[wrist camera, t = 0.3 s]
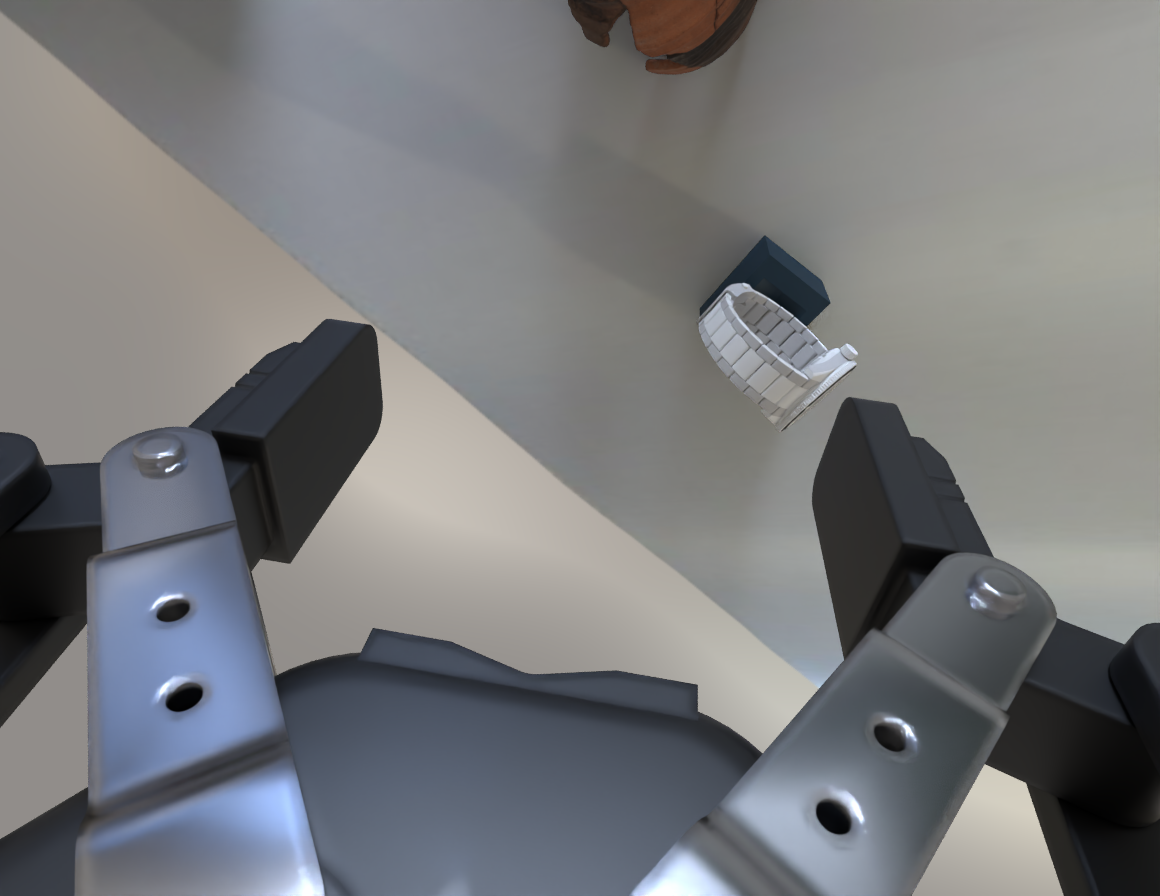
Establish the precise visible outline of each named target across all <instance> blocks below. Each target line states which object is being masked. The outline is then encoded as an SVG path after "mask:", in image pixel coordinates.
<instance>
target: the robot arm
mask: <svg viewBox="0 0 1160 896" xmlns="http://www.w3.org/2000/svg"><path fill="white" fill-rule="evenodd" d="M382 410H383V401H382V390H381V379H380V367H379V356H378V344H377V336H376V332H375V330H374V328H373V327H372V326H371V325H368V324H361V323H354V322H347V321H340V320H334V319H326V320H324V321H323V322H322V323H321V324H320V325H319V326H318V327H317V328H316V329H315V330H314V331H313V332H311V333H310V334H309V335H308V336H307V337H306V338H305V339H304V340H303V342H301V343H297V342H293V343H291V344H288V345H286V346H284V347H282V348H280V349H277V350H275V351H273V352H271V353H269V354H267V355H266V356H265V357H263V358H262V359H261V360H260V361H259V362H258V363H257V364H256V365H255V366H254V367H253V368H251V369H250V373H249V374H245V375H244V376H243V377H242V378H241V379H240V380H238V381H237V382H236V384H235V387H231V388H230V389H229V390H228V391H227V392H226V393H224V394H223V395H222V396H221V397H220V398H219V399H218V400H217V401H216V402H215V403H213V404H212V405H211V406H210V407H209V408H208V409H207V410H206V411H205V412H204V413H203V414H202V415H200V416H199V417H198V418H197V419H196V420H195V421H194V422H193V423H192V424H191V425H190V426H189V427H165V428H158V429H154V430H149V431H145V432H142V433H139V434H136V435H134V436H132V437H129V438H127V439H125V440H123V441H121V442H120V443H118V444H117V445H115V446H114V447H113V448H112V449H111V450H109V451H108V452H107V453H106V455H105V456H104V457H103V459H102V461H101V463H82V464H61V465H45V464H44V462H43V460H42V458H41V456H40V453H39V451H38V449H37V446H36V444H35V443H34V442H33V441H32V440H31V439H29V438H28V437H26V436H23V435H20V434H15V433H5V432H0V727H1V726H2V725H3V724H4V723H5V721H6V720H7V719H8V718H9V717H10V716H11V714H12V713H13V712H14V711H15V709H16V708H17V707H18V706H19V705H20V703H21V702H22V701H23V700H24V699H25V697H26V696H27V695H28V694H29V693H30V691H31V690H32V689H33V688H34V687H35V685H36V684H37V683H38V682H39V681H40V679H41V678H42V677H43V676H44V675H45V673H46V672H47V671H48V669H50V667H51V666H52V665H53V664H54V663H55V661H56V660H57V659H58V658H59V656H60V655H61V654H62V653H63V652H64V650H65V649H66V648H67V647H68V646H69V645H70V643H71V642H72V641H73V640H74V638H75V637H76V636H77V635H78V634H79V633H80V631H81V630H82V629H83V628H84V626H85V625H86V624H87V665H88V666H87V668H88V669H87V672H88V673H87V674H88V675H87V679H88V787H87V788H85V789H84V790H82V791H80V792H79V793H77V794H75V795H74V796H72V797H70V798H69V799H67V800H65V801H64V802H62V803H60V804H59V805H57V806H55V807H54V808H52V809H50V810H48V811H47V812H45V813H43V814H42V815H40V816H38V817H37V818H35V819H33V820H32V821H30V822H28V823H27V824H25V825H23V826H22V827H20V828H18V829H17V830H15V831H13V832H12V833H10V834H8V835H7V836H5V837H3V838H1V839H0V896H912V894H913V892H914V890H915V888H916V887H917V885H918V883H919V881H920V879H921V878H922V876H923V874H924V872H925V870H926V868H927V867H928V865H929V863H930V861H931V860H932V858H933V856H934V854H935V852H936V851H937V849H938V847H939V845H940V843H941V842H942V839H943V838H944V836H945V834H946V832H947V831H948V829H949V827H950V825H951V824H952V822H953V820H954V818H955V816H956V814H957V813H958V811H959V809H960V807H961V805H962V804H963V802H964V800H965V798H966V796H967V795H968V793H969V791H970V789H971V787H972V785H973V784H974V782H975V780H976V778H977V777H978V775H979V773H980V771H981V769H982V768H983V766H984V764H986V765H988V766H990V767H993V768H995V769H997V770H999V771H1001V772H1004V773H1006V774H1008V775H1010V776H1012V777H1014V778H1017V779H1019V780H1021V781H1023V782H1026V784H1027V787H1028V790H1029V793H1030V796H1031V799H1032V802H1033V805H1034V808H1035V811H1036V814H1037V817H1038V820H1039V823H1040V826H1041V829H1042V832H1043V834H1044V838H1045V841H1046V844H1047V846H1048V850H1049V853H1050V856H1051V859H1052V861H1053V865H1054V868H1055V870H1056V874H1057V877H1058V880H1059V883H1060V886H1061V888H1062V891H1063V894H1064V896H1160V623H1151V624H1146V625H1144V626H1142V627H1140V628H1139V629H1138V630H1137V631H1136V632H1135V633H1134V634H1133V635H1132V636H1131V638H1130V639H1129V640H1128V641H1127V642H1126V644H1125V645H1124V644H1122V643H1119V642H1117V641H1114V640H1111V639H1109V638H1106V637H1103V636H1101V635H1098V634H1096V633H1093V632H1090V631H1088V630H1085V629H1082V628H1080V627H1077V626H1075V625H1072V624H1069V623H1067V622H1065V621H1062V620H1060V619H1058V618H1057V613H1056V609H1055V606H1054V604H1053V602H1052V600H1051V598H1050V597H1049V596H1048V594H1047V593H1046V591H1045V590H1044V589H1043V588H1042V587H1041V586H1040V585H1039V584H1038V583H1037V582H1036V581H1034V580H1033V579H1032V578H1031V577H1029V576H1028V575H1027V574H1025V573H1024V572H1022V571H1021V570H1019V569H1017V568H1016V567H1014V566H1012V565H1010V564H1008V563H1006V562H1004V561H1001V560H999V559H996V558H994V557H993V554H992V552H991V550H990V548H989V546H988V544H987V542H986V540H985V538H984V536H983V534H982V532H981V530H980V528H979V526H978V524H977V522H976V520H975V518H974V516H973V514H972V512H971V510H970V508H969V506H968V504H967V503H965V502H964V499H965V498H964V495H963V493H962V491H961V489H960V487H959V485H956V484H955V483H956V479H955V477H954V475H953V473H952V471H951V469H950V467H949V465H948V463H947V461H946V459H945V458H944V457H943V456H942V455H941V454H940V453H939V452H938V451H937V450H935V449H934V448H933V447H932V446H931V445H930V444H929V443H928V442H927V441H926V440H925V439H924V438H919V437H912V436H910V433H909V431H908V429H907V427H906V424H905V422H904V420H903V418H902V415H901V413H900V411H899V409H898V407H897V405H895V404H893V403H886V402H879V401H872V400H866V399H859V398H852V397H848V398H846V399H845V400H844V402H843V403H842V405H841V407H840V409H839V412H838V415H837V417H836V420H835V423H834V426H833V428H832V431H831V434H830V436H829V439H828V442H827V445H826V447H825V450H824V453H823V455H822V458H821V461H820V464H819V466H818V469H817V472H816V475H815V479H814V485H813V492H812V506H813V511H814V516H815V521H816V526H817V531H818V536H819V540H820V545H821V550H822V555H823V560H824V565H825V569H826V574H827V579H828V584H829V589H830V593H831V598H832V603H833V608H834V613H835V618H836V622H837V627H838V632H839V637H840V642H841V647H842V651H843V656H844V661H843V662H842V663H841V664H840V665H839V667H838V668H837V669H836V670H835V671H834V672H833V673H832V675H831V676H830V677H829V678H828V679H827V680H826V681H825V683H824V684H823V685H822V686H821V687H820V688H819V690H818V691H817V692H816V693H815V694H814V695H813V697H812V698H811V699H810V700H809V701H808V702H807V703H806V705H805V706H804V707H803V708H802V709H801V710H800V712H799V713H798V714H797V715H796V716H795V717H794V718H793V720H792V721H791V722H790V723H789V724H788V725H787V726H786V728H785V729H784V730H783V731H782V732H781V733H780V735H779V736H778V737H777V738H776V739H775V740H774V741H773V742H772V744H771V745H770V746H769V747H768V748H767V749H766V751H765V752H764V753H761V752H760V751H759V750H758V749H757V748H756V747H754V746H753V745H752V744H751V743H750V742H749V741H747V740H746V739H745V738H743V737H742V736H740V735H739V734H738V733H736V732H735V731H733V730H732V729H730V728H729V727H727V726H726V725H724V724H722V723H720V722H718V721H717V720H715V719H713V718H711V717H709V716H707V715H704V714H702V713H700V712H698V701H697V700H698V685H696V684H690V683H684V682H679V681H673V680H667V679H662V678H656V677H650V676H644V675H639V674H633V673H627V672H622V671H596V672H576V673H555V674H528V673H524V672H521V671H518V670H516V669H514V668H511V667H509V666H507V665H504V664H502V663H500V662H497V661H495V660H493V659H490V658H488V657H486V656H483V655H481V654H478V653H476V652H474V651H472V650H469V649H467V648H465V647H462V646H460V645H458V644H455V643H453V642H450V641H444V640H438V639H433V638H427V637H421V636H415V635H410V634H404V633H398V632H393V631H387V630H382V629H375V628H373V629H372V631H371V633H370V635H369V637H368V639H367V641H366V643H365V646H364V647H363V649H362V651H361V653H350V654H344V655H338V656H331V657H327V658H323V659H320V660H315V661H311V662H309V663H306V664H303V665H300V666H297V667H295V668H292V669H289V670H287V671H285V672H283V673H281V674H279V675H277V673H276V669H275V665H274V661H273V657H272V653H271V649H270V644H269V640H268V637H267V632H266V629H265V625H264V621H263V616H262V612H261V608H260V604H259V600H258V596H257V592H256V588H255V584H254V580H253V577H252V573H251V571H252V570H253V569H254V567H255V566H256V564H257V563H258V562H259V560H260V559H265V560H271V561H277V562H282V563H291V562H292V560H293V559H294V557H295V556H296V554H297V553H298V551H299V550H300V548H301V547H302V545H303V543H304V542H305V541H306V539H307V538H308V536H309V535H310V533H311V532H312V530H313V529H314V527H315V526H316V524H317V523H318V521H319V520H320V519H321V517H322V516H323V514H324V513H325V511H326V510H327V508H328V507H329V505H330V504H331V502H332V501H333V499H334V498H335V496H336V495H337V493H338V492H339V490H340V489H341V487H342V486H343V484H344V483H345V481H346V480H347V478H348V477H349V475H350V474H351V472H352V471H353V469H354V468H355V467H356V465H357V464H358V462H359V461H360V459H361V457H362V456H363V454H364V453H365V452H366V450H367V449H368V447H369V446H370V444H371V443H372V441H373V440H374V438H375V437H376V435H377V432H378V430H379V427H380V423H381V418H382Z"/></svg>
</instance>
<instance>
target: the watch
mask: <svg viewBox="0 0 1160 896" xmlns="http://www.w3.org/2000/svg"><path fill="white" fill-rule="evenodd" d="M829 304H830V300H829V298H828V295H827V292H826V290H825V287H824V285H823V282H822V281H821V280H820V279H819V278H818V277H816V276H815V275H814V274H813V273H811V272H810V271H809V270H808V269H806V268H805V267H804V266H803V265H801V264H800V263H799V262H798V261H796V260H795V259H794V258H793V257H791V256H790V255H789V254H788V253H786V252H785V251H784V250H783V249H781V248H780V247H779V246H778V245H776V244H775V243H774V242H773V241H771V240H770V239H769V238H768V237H766V236H764V237H763V238H762V239H761V240H760V242H759V243H758V244H757V245H756V246H755V247H754V248H753V249H752V251H751V252H750V253H749V254H748V255H747V256H746V257H745V258H744V259H743V261H742V262H741V263H740V264H739V265H738V266H737V267H736V268H735V270H734V271H733V272H732V273H731V274H730V275H729V276H728V277H727V279H726V280H725V281H724V282H723V283H722V284H721V285H720V286H719V288H718V289H717V290H716V291H715V292H714V293H713V294H712V295H711V297H710V298H709V299H708V300H707V301H706V302H705V303H704V304H703V306H702V307H701V308H700V318H699V319H698V320H697V324H698V325H699V333H700V335H701V338H702V340H703V342H704V344H705V346H706V348H708V349H707V350H708V351H709V353H710V355H711V356H712V358H713V359H714V360H715V362H716V363H717V365H718V366H719V368H720V369H721V370H722V371H723V373H724V374H725V375H726V376H727V377H728V378H729V377H730V376H731V375H732V374H733V373H734V372H735V373H734V374H733V375H732V376H731V377H730V380H731V381H732V382H733V383H734V384H735V385H736V386H737V387H738V388H739V389H740V390H741V391H742V392H743V391H744V394H745V395H747V396H748V397H749V398H750V399H751V400H752V401H754V402H755V403H756V404H758V405H759V406H761V407H762V408H763V409H762V410H761V413H762V414H763V415H764V416H765V417H766V418H767V419H768V420H769V421H770V422H771V423H772V424H773V425H774V426H776V430H777V431H778V432H781V431H783V430H785V429H786V428H788V427H789V426H791V425H792V424H794V423H795V422H796V421H797V420H799V419H800V418H801V417H802V416H803V415H805V414H806V413H807V412H808V411H809V410H810V409H812V408H813V407H814V406H815V405H816V404H817V403H819V402H820V401H821V400H822V399H823V398H824V397H825V396H826V395H828V394H829V393H830V392H831V391H832V390H833V389H834V388H835V387H837V386H838V385H839V384H840V383H841V382H842V381H843V380H844V379H845V378H846V377H847V376H848V375H849V374H850V373H851V371H852V370H853V369H854V368H855V367H856V365H857V363H856V362H855V361H854V360H853V359H854V358H855V357H856V356H857V355H858V353H857V352H856V350H855V349H854V348H853V347H852V346H850V345H849V344H847V343H846V344H845V345H844V346H842V347H841V348H840V350H839V349H838V348H834V349H831V350H827V349H826V347H825V346H824V345H823V344H822V343H821V342H820V341H818V340H819V339H818V338H817V337H816V336H815V335H814V334H813V333H812V332H811V331H810V330H809V329H806V328H807V326H808V325H809V324H810V323H811V322H812V321H813V320H814V319H815V318H816V317H817V316H818V315H819V314H820V313H821V312H822V311H823V310H824V309H825V308H826V307H827V306H828V305H829ZM805 329H806V330H805ZM804 330H805V331H804ZM803 331H804V332H803ZM802 332H803V333H802ZM801 333H802V334H801ZM802 347H803V348H802ZM801 348H802V349H801ZM800 349H801V350H800ZM799 350H800V351H799ZM798 351H799V352H798ZM797 352H798V353H797ZM796 353H797V354H796ZM851 360H853V361H851ZM754 372H755V373H754ZM753 373H754V374H753ZM752 374H753V375H752ZM751 375H752V376H751ZM750 376H751V377H750ZM749 377H750V378H749ZM748 378H749V379H748ZM747 379H748V380H747Z"/></svg>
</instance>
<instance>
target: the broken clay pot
mask: <svg viewBox="0 0 1160 896" xmlns="http://www.w3.org/2000/svg"><path fill="white" fill-rule="evenodd" d="M756 2H757V0H568V5H569V6H570V9H571V12H572V15H573V17H574V18H575V19H576V21H577V22H578V23H579V24H580V25H581V27H582V30H583V33H584V35H585V37H586V38H587V39H588V40H590V41H592V42H593V43H595V44H597V45H599V46H601V47H607V46H608V45H609V42H610V38H609V34H608V32H609V31H610V30H611V29H612V27H613V25H614V23H615V22H616V20H617V19H618V18H619V17H620V16H621V15H622V14H623V13H624V11H625V10H628V13H629V20H630V25H631V27H632V33H633V37H634V41H635V46H636V49H637V50H638V51H641V52H642V53H643V54H645V55H647V56H650V57H656V56H660V55H664V54H666V56H667V59H649V60H647V61H646V65H645V67H646V70H647V71H649V72H652V73H657V74H682V73H687V72H691V71H694V70H697V69H699V68H701V67H704V66H706V65H708V64H710V63H712V62H713V61H715V60H716V59H717V58H719V57H720V56H721V55H723V54H724V53H725V52H726V51H727V50H728V49H729V48H730V47H731V46H732V45H733V44H734V42H735V41H736V40H737V39H738V38H739V36H740V35H741V34H742V32H743V31H744V29H745V28H746V26H747V24H748V22H749V20H750V17H751V15H752V13H753V10H754V7H755V5H756Z"/></svg>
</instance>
